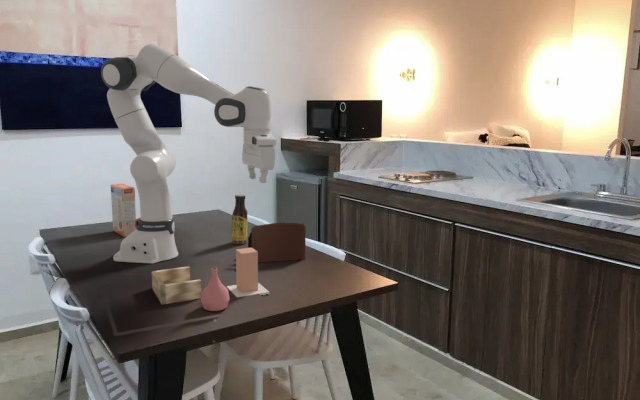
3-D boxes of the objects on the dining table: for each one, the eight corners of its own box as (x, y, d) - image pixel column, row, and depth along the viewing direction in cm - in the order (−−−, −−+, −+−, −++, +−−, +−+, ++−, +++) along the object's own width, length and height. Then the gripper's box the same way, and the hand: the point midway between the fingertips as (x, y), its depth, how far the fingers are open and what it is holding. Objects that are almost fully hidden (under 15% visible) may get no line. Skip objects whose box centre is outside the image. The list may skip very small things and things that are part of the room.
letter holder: (305, 259, 186) (306, 222, 184) (251, 263, 181) (251, 224, 178) (299, 252, 196) (299, 216, 193) (248, 255, 190) (247, 218, 188)
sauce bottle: (228, 243, 205) (227, 195, 201) (236, 240, 211) (236, 193, 207) (242, 245, 203) (242, 196, 199) (250, 242, 208) (250, 194, 205)
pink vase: (204, 318, 134) (203, 274, 131) (198, 307, 140) (196, 266, 138) (233, 313, 137) (232, 270, 135) (225, 303, 144) (224, 262, 141)
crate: (161, 307, 140) (160, 286, 139) (152, 290, 153) (151, 271, 152) (201, 300, 146) (201, 280, 145) (189, 284, 158) (188, 266, 157)
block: (242, 293, 150) (241, 253, 147) (236, 287, 154) (235, 249, 152) (258, 290, 152) (257, 251, 150) (252, 285, 156) (251, 247, 154)
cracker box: (137, 235, 216) (135, 187, 212) (123, 237, 212) (120, 188, 209) (126, 229, 227) (123, 182, 223) (112, 231, 223) (109, 184, 219)
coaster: (237, 299, 146) (237, 297, 146) (226, 288, 155) (226, 286, 155) (269, 294, 151) (269, 291, 151) (257, 283, 160) (257, 281, 160)
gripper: (237, 136, 171) (237, 177, 174) (259, 140, 153) (259, 185, 156) (255, 136, 174) (255, 176, 177) (278, 140, 156) (278, 184, 159)
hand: (257, 180), depth 166 cm, fingers open, 8 cm apart
